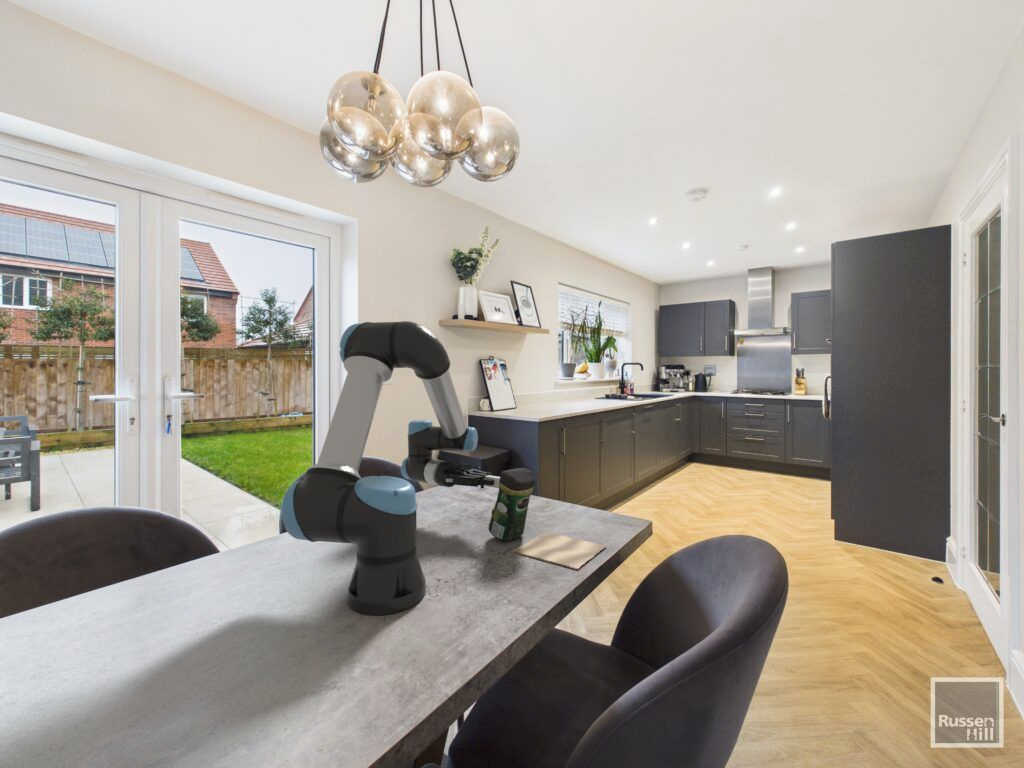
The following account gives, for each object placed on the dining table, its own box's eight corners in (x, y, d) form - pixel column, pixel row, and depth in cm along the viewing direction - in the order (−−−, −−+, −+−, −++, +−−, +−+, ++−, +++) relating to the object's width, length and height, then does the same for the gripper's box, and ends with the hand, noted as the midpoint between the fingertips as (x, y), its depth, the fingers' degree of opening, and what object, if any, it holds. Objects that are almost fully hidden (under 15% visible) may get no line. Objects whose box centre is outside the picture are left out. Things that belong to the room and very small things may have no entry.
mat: (512, 552, 111) (512, 550, 111) (545, 533, 124) (545, 531, 124) (577, 570, 101) (577, 568, 101) (606, 547, 114) (606, 545, 114)
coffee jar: (507, 521, 128) (521, 462, 124) (527, 536, 123) (542, 474, 119) (482, 529, 121) (496, 467, 117) (502, 545, 116) (517, 480, 112)
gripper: (457, 481, 142) (518, 491, 128) (427, 490, 131) (490, 502, 118) (456, 457, 142) (518, 465, 128) (426, 464, 131) (490, 474, 117)
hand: (505, 483), depth 123 cm, fingers closed
